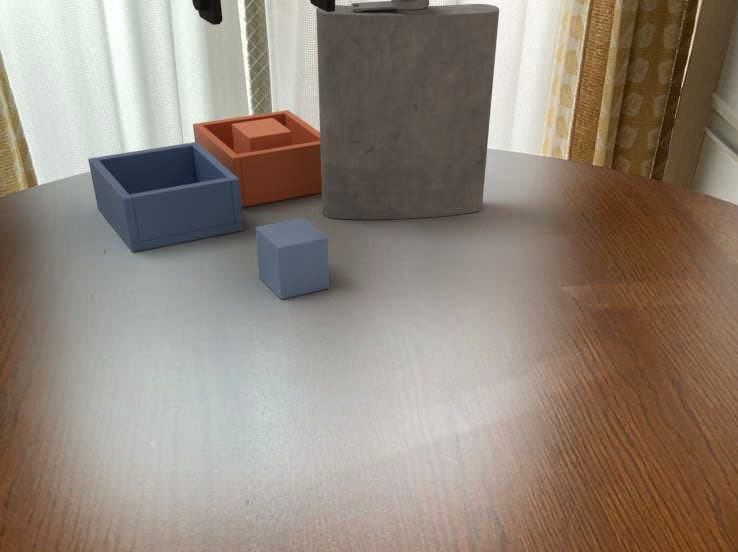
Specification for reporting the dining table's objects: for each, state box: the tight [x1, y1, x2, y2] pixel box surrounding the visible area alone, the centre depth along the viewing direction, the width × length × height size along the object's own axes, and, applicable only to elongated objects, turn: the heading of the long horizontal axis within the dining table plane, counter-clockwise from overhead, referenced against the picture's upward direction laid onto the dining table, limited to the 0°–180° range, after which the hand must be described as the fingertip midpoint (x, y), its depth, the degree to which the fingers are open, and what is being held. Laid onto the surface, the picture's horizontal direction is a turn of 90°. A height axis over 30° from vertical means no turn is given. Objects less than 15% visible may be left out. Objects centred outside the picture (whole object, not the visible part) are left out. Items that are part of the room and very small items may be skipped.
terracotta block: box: [232, 118, 292, 155], centre depth 93 cm, size 4×4×4 cm
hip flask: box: [315, 0, 500, 221], centre depth 84 cm, size 16×4×20 cm, turn 100°
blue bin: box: [87, 141, 244, 253], centre depth 86 cm, size 11×11×5 cm
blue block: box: [255, 217, 330, 300], centre depth 77 cm, size 4×4×4 cm
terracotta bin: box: [192, 109, 322, 208], centre depth 93 cm, size 11×11×5 cm
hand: (268, 14), depth 73 cm, fingers open, 9 cm apart
